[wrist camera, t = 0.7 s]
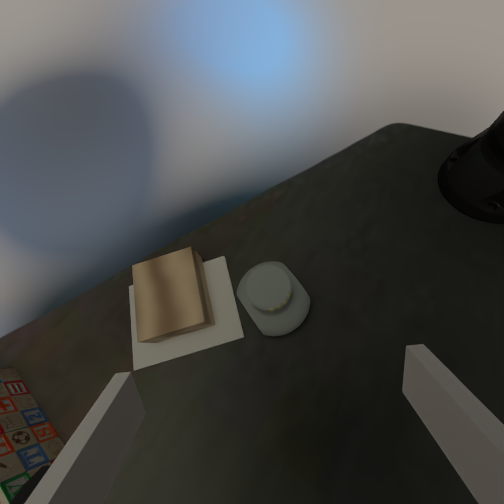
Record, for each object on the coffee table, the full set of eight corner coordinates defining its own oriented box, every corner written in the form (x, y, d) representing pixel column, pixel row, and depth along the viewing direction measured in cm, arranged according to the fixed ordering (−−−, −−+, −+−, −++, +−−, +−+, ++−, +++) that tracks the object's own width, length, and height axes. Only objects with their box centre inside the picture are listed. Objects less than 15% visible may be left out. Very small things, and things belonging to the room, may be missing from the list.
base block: (201, 257, 42) (190, 246, 38) (215, 324, 38) (204, 321, 33) (149, 274, 43) (132, 265, 38) (155, 343, 38) (137, 342, 33)
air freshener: (317, 313, 36) (325, 302, 27) (273, 346, 36) (266, 346, 26) (274, 260, 41) (269, 234, 31) (234, 288, 40) (217, 270, 31)
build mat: (224, 256, 42) (224, 255, 42) (244, 337, 37) (243, 337, 36) (130, 286, 43) (128, 286, 43) (135, 370, 37) (133, 370, 37)
